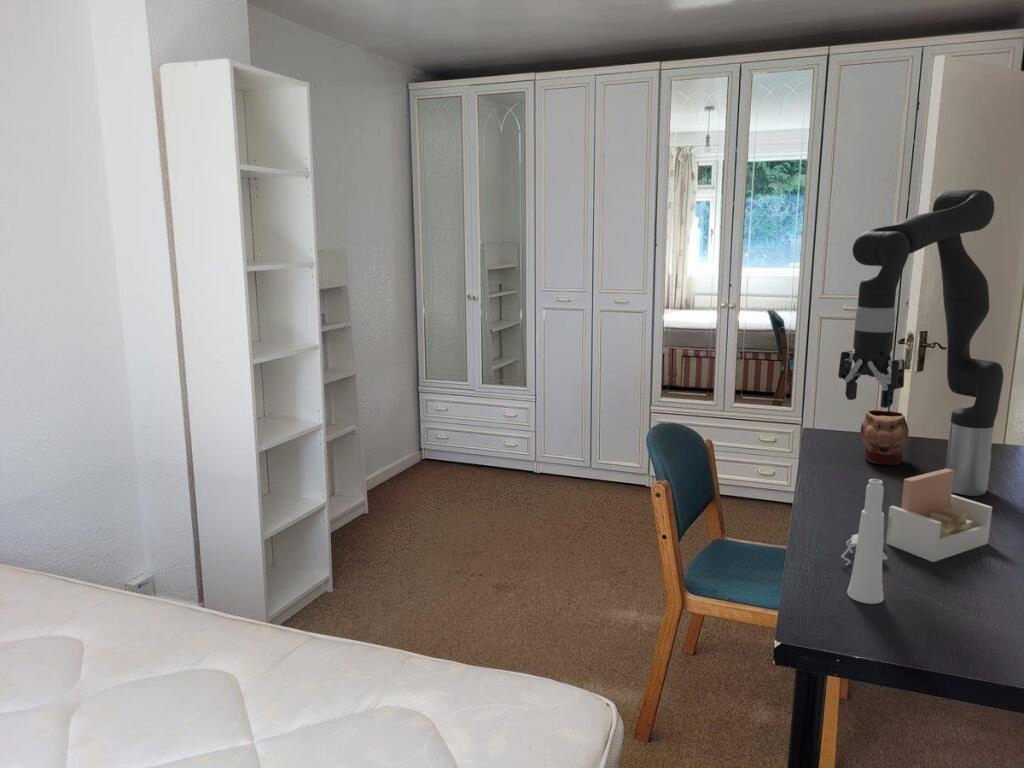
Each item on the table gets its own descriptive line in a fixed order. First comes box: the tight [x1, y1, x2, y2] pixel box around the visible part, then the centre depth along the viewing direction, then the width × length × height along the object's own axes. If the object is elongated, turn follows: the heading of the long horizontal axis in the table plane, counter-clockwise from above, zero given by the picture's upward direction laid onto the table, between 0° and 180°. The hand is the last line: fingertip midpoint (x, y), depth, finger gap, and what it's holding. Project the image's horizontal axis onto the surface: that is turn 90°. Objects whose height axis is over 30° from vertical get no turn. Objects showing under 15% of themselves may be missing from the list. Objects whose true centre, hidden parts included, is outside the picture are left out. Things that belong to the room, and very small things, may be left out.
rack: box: [885, 493, 993, 563], centre depth 158 cm, size 18×10×9 cm, turn 118°
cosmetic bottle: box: [846, 478, 885, 605], centre depth 137 cm, size 6×6×22 cm
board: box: [900, 467, 954, 518], centre depth 160 cm, size 14×2×14 cm, turn 118°
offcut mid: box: [940, 519, 973, 539], centre depth 157 cm, size 9×4×2 cm, turn 118°
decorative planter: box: [860, 409, 910, 466], centre depth 217 cm, size 20×12×14 cm, turn 161°
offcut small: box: [929, 508, 967, 529], centre depth 156 cm, size 6×4×2 cm, turn 118°
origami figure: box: [840, 533, 888, 566], centre depth 154 cm, size 12×8×5 cm
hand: (867, 403), depth 165 cm, fingers open, 8 cm apart
